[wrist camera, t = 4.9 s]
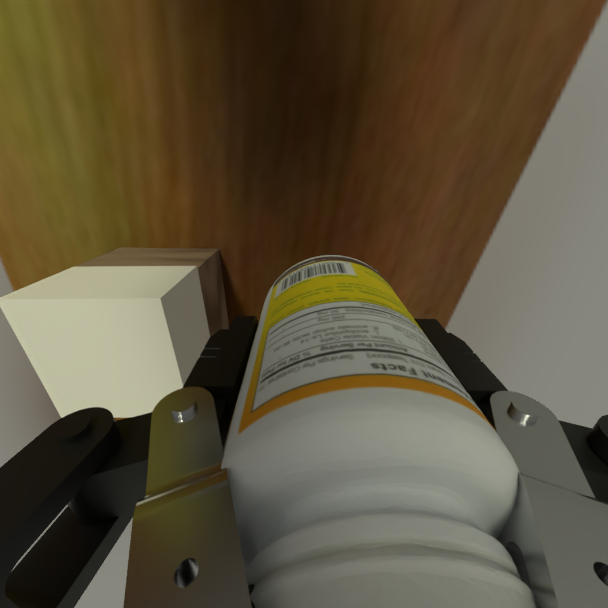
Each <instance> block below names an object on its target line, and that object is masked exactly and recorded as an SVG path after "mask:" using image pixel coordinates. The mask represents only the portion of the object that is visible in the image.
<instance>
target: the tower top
mask: <svg viewBox="0 0 608 608" xmlns="http://www.w3.org/2000/svg"><path fill="white" fill-rule="evenodd" d="M0 307H1V309H2V311H3V313H4V314H5V316H6V318H7V320H8V322H9V323H10V325H11V327H12V329H13V331H14V332H15V334H16V336H17V338H18V340H19V342H20V343H21V345H22V347H23V349H24V351H25V352H26V354H27V356H28V357H29V360H30V362H31V363H32V365H33V367H34V369H35V370H36V372H37V374H38V376H39V378H40V379H41V382H42V383H43V385H44V387H45V388H46V390H47V392H48V394H49V396H50V398H51V400H52V401H53V403H54V405H55V407H56V409H57V410H58V412H59V414H60V416H61V417H62V418H63V417H65V416H66V415H69V414H71V413H73V412H76V411H78V410H82V409H86V408H91V407H101V408H105V409H108V410H109V411H110V412H111V413H112V415H113V417H135V416H139V415H143V414H147V413H150V412H153V410H154V408H155V406H156V405H157V404H158V402H159V401H160V400H161V399H163V398H164V397H165V396H167V395H168V394H170V393H172V392H174V391H176V390H178V389H182V387H183V386H184V384H185V382H186V380H187V378H188V376H189V375H190V373H191V371H192V369H193V367H194V365H195V364H196V362H197V360H198V358H200V354H201V353H202V351H203V349H204V347H205V345H206V343H207V342H208V340H209V338H210V333H209V328H208V323H207V317H206V312H205V306H204V301H203V296H202V290H201V285H200V280H199V274H198V269H197V266H94V267H72V268H70V269H67V270H65V271H62V272H60V273H58V274H55V275H53V276H50V277H48V278H46V279H43V280H41V281H39V282H36V283H34V284H31V285H29V286H27V287H24V288H22V289H20V290H17V291H15V292H12V293H10V294H8V295H6V296H3V297H0Z"/></svg>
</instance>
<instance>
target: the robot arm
mask: <svg viewBox="0 0 608 608" xmlns="http://www.w3.org/2000/svg"><path fill="white" fill-rule="evenodd" d="M414 320H415V321H416V323H417V324H418V325H419V327H420V328H421V329H422V331H423V332H424V334H425V335H426V336H427V338H428V339H429V341H430V342H431V343H432V345H433V346H434V347H435V349H436V350H437V352H438V353H439V354H440V356H441V357H442V359H443V360H444V361H445V363H446V364H447V365H448V367H449V368H450V370H451V371H452V372H453V374H454V375H455V376H456V378H457V379H458V380H459V382H460V383H461V385H462V386H463V387H464V389H465V390H466V392H467V393H468V394H469V395H470V397H471V398H472V400H473V401H474V402H475V404H476V405H477V406H478V408H479V409H480V410H481V412H482V413H483V415H484V416H485V417H486V419H487V420H488V421H489V423H490V424H491V425H492V427H493V428H494V429H495V431H496V432H497V434H498V435H499V437H500V438H501V440H502V441H503V443H504V444H505V446H506V447H507V449H508V450H509V452H510V453H511V455H512V457H513V459H514V461H515V463H516V465H517V468H518V470H519V472H518V490H517V496H516V500H515V504H514V507H513V510H512V512H511V514H510V517H509V518H508V520H507V522H506V524H505V526H504V528H503V529H502V531H501V532H500V534H499V536H498V537H497V539H496V540H498V541H499V542H500V543H501V544H502V545H503V546H504V547H505V549H506V550H507V551H508V553H509V554H510V556H511V558H512V560H513V562H514V564H515V566H516V568H517V570H518V572H519V574H520V577H521V581H522V582H524V583H525V584H526V585H527V586H528V587H529V588H530V589H531V590H532V592H533V594H534V599H535V604H536V607H537V608H608V415H605V416H602V417H601V418H600V419H599V420H598V421H597V423H596V424H595V426H594V427H593V429H592V428H588V427H584V426H579V425H575V424H571V423H567V422H563V421H559V420H558V419H557V418H556V416H555V415H554V414H553V413H552V412H551V411H550V410H549V409H548V408H547V407H545V406H544V405H543V404H541V403H540V402H538V401H536V400H534V399H532V398H530V397H528V396H526V395H523V394H520V393H517V392H512V391H508V390H507V389H506V388H505V387H504V385H503V384H502V383H501V382H500V381H499V380H498V379H497V378H496V376H495V375H494V374H493V373H492V372H491V371H490V370H489V369H488V368H487V366H486V365H485V364H484V363H483V362H481V361H480V359H479V358H478V356H477V355H476V354H474V353H473V351H472V350H471V349H470V347H469V346H468V345H467V344H466V343H465V342H464V341H463V340H461V339H459V338H458V337H456V336H455V335H453V334H452V333H447V332H446V331H445V329H444V328H443V327H442V326H441V325H440V323H439V322H438V321H437V320H436V319H414ZM257 327H258V321H257V317H256V316H235V318H234V320H233V322H232V324H231V326H230V329H220V330H219V331H217V332H216V333H215V334H214V335H212V336H211V337H210V338H209V340H208V342H207V343H206V345H205V347H204V349H203V351H202V353H201V354H200V358H198V360H197V362H196V364H195V365H194V367H193V369H192V371H191V373H190V375H189V376H188V378H187V380H186V382H185V384H184V386H183V387H182V389H178V390H176V391H174V392H172V393H170V394H168V395H167V396H165V397H164V398H163V399H161V400H160V401H159V402H158V404H157V405H156V406H155V408H154V410H153V412H150V413H147V414H143V415H139V416H135V417H130V418H126V419H122V420H118V421H115V419H114V417H113V415H112V413H111V412H110V411H109V410H108V409H105V408H101V407H91V408H86V409H82V410H78V411H76V412H73V413H71V414H69V415H66V416H65V417H63V418H61V419H59V420H58V421H57V422H55V423H53V424H52V425H51V426H49V427H48V428H47V429H46V430H45V431H44V432H42V433H41V434H40V435H39V436H38V437H36V438H35V439H34V440H33V441H32V442H30V443H29V444H28V445H27V446H26V447H24V448H23V449H22V450H21V451H20V452H18V453H17V454H16V455H15V456H14V457H12V458H11V459H10V460H9V461H8V462H7V463H5V464H4V465H3V466H2V467H1V468H0V608H74V607H75V605H76V604H77V602H78V600H79V599H80V597H81V596H82V594H83V593H84V591H85V590H86V588H87V586H88V585H89V583H90V582H91V580H92V579H93V577H94V576H95V574H96V573H97V571H98V570H99V568H100V567H101V565H102V563H103V562H104V560H105V559H106V557H107V556H108V554H109V552H110V551H111V550H112V548H113V546H114V545H115V543H116V542H117V540H118V539H119V537H120V536H121V534H122V532H123V531H124V529H125V528H126V526H127V525H128V523H129V522H130V520H131V519H132V517H133V522H132V531H131V540H130V550H129V560H128V569H127V578H126V588H125V598H124V608H255V605H254V604H253V602H252V601H251V598H250V595H251V593H252V591H253V589H254V586H255V585H254V584H252V585H248V583H247V578H246V572H245V567H244V561H243V556H242V550H241V545H240V539H239V534H238V529H237V523H236V518H235V512H234V507H233V501H232V496H231V491H230V485H229V480H228V474H227V469H226V468H224V469H221V465H222V460H223V457H224V453H223V448H224V444H225V440H226V437H227V433H228V430H229V426H230V423H231V419H232V416H233V413H234V409H235V406H236V402H237V398H238V395H239V391H240V388H241V384H242V381H243V377H244V374H245V370H246V366H247V363H248V359H249V355H250V351H251V348H252V344H253V341H254V337H255V334H256V330H257ZM67 504H68V507H67V508H66V509H65V510H64V511H63V513H62V514H61V515H60V516H59V517H58V518H57V519H56V521H55V522H54V523H53V524H52V525H51V527H50V528H49V529H48V530H47V531H46V532H45V533H44V535H43V536H42V537H41V538H40V540H38V542H37V543H36V544H35V545H34V546H33V547H32V549H31V550H30V551H29V552H28V553H27V555H26V556H25V557H24V558H23V559H22V560H21V561H20V563H19V564H18V565H17V566H16V567H15V568H14V566H15V565H16V563H17V562H18V560H19V559H20V558H21V557H22V556H23V554H24V553H25V552H26V551H27V550H28V549H29V548H30V546H31V545H32V544H33V543H34V542H35V541H36V539H37V538H38V537H39V536H40V535H41V534H42V533H43V531H44V530H45V529H46V528H47V527H48V526H49V524H50V523H51V522H52V521H53V520H54V519H55V518H56V516H57V515H58V514H59V513H60V512H61V511H62V509H63V508H64V507H65V506H66V505H67ZM13 568H14V570H13V571H12V569H13ZM11 571H12V572H11Z"/></svg>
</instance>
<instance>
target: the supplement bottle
mask: <svg viewBox="0 0 608 608" xmlns="http://www.w3.org/2000/svg"><path fill="white" fill-rule="evenodd" d="M223 453H224V457H223V460H222V465H221V469H224V468H226V469H227V474H228V480H229V485H230V491H231V496H232V501H233V507H234V512H235V518H236V523H237V529H238V534H239V539H240V545H241V550H242V556H243V561H244V567H245V572H246V578H247V583H248V585H252V584H254V585H255V586H254V589H253V591H252V593H251V595H250V598H251V601H252V602H253V604H254V605H255V608H537V607H536V604H535V599H534V594H533V592H532V590H531V589H530V588H529V587H528V586H527V585H526V584H525V583H524V582H522V581H521V577H520V574H519V572H518V570H517V568H516V566H515V564H514V562H513V560H512V558H511V556H510V554H509V553H508V551H507V550H506V549H505V547H504V546H503V545H502V544H501V543H500V542H499V541H498V540H496V539H497V537H498V536H499V534H500V532H501V531H502V529H503V528H504V526H505V524H506V522H507V520H508V518H509V517H510V514H511V512H512V510H513V507H514V504H515V500H516V496H517V490H518V472H519V470H518V468H517V465H516V463H515V461H514V459H513V457H512V455H511V453H510V452H509V450H508V449H507V447H506V446H505V444H504V443H503V441H502V440H501V438H500V437H499V435H498V434H497V432H496V431H495V429H494V428H493V427H492V425H491V424H490V423H489V421H488V420H487V419H486V417H485V416H484V415H483V413H482V412H481V410H480V409H479V408H478V406H477V405H476V404H475V402H474V401H473V400H472V398H471V397H470V395H469V394H468V393H467V392H466V390H465V389H464V387H463V386H462V385H461V383H460V382H459V380H458V379H457V378H456V376H455V375H454V374H453V372H452V371H451V370H450V368H449V367H448V365H447V364H446V363H445V361H444V360H443V359H442V357H441V356H440V354H439V353H438V352H437V350H436V349H435V347H434V346H433V345H432V343H431V342H430V341H429V339H428V338H427V336H426V335H425V334H424V332H423V331H422V329H421V328H420V327H419V325H418V324H417V323H416V321H415V320H414V318H413V317H412V316H411V314H410V313H409V312H408V310H407V309H406V308H405V306H404V305H403V303H402V302H401V301H400V299H399V298H398V297H397V295H396V294H395V292H394V291H393V289H392V288H391V287H390V285H389V284H388V282H387V281H386V280H385V279H384V278H383V277H382V276H381V275H380V274H379V273H378V272H377V271H376V270H375V269H373V268H372V267H370V266H369V265H367V264H365V263H363V262H361V261H359V260H356V259H353V258H350V257H345V256H339V255H325V256H318V257H313V258H309V259H307V260H304V261H302V262H300V263H298V264H296V265H294V266H292V267H291V268H289V269H288V270H287V271H285V272H284V273H283V274H282V275H281V276H280V277H279V278H278V279H277V280H276V282H275V283H274V284H273V286H272V287H271V289H270V291H269V293H268V295H267V297H266V300H265V303H264V306H263V309H262V312H261V316H260V320H259V323H258V327H257V330H256V334H255V337H254V341H253V344H252V348H251V351H250V355H249V359H248V363H247V366H246V370H245V374H244V377H243V381H242V384H241V388H240V391H239V395H238V398H237V402H236V406H235V409H234V413H233V416H232V419H231V423H230V426H229V430H228V433H227V437H226V440H225V444H224V448H223Z"/></svg>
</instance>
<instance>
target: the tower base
mask: <svg viewBox="0 0 608 608" xmlns="http://www.w3.org/2000/svg"><path fill="white" fill-rule="evenodd" d="M94 266H197V269H198V274H199V280H200V285H201V290H202V296H203V301H204V306H205V312H206V317H207V323H208V328H209V333H210V337H211V336H212V335H214V334H215V333H216V332H217V331H219V330H220V329H229V323H228V315H227V307H226V299H225V291H224V284H223V276H222V268H221V260H220V252H219V249H199V248H118V249H116V250H113V251H111V252H109V253H106V254H104V255H101V256H99V257H97V258H94V259H92V260H90V261H87V262H85V263H82V264H80V265H78V266H75V267H94Z"/></svg>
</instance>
